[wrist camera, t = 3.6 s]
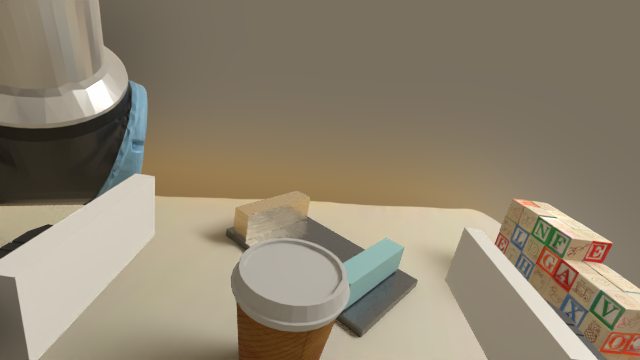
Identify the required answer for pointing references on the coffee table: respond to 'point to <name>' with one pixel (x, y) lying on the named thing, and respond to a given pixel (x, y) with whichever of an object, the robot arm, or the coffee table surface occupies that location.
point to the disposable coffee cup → (287, 299)
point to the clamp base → (292, 222)
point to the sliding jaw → (371, 267)
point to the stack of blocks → (573, 275)
